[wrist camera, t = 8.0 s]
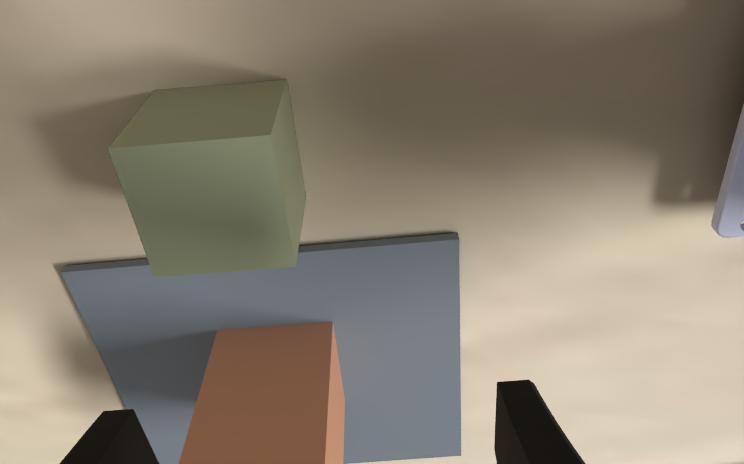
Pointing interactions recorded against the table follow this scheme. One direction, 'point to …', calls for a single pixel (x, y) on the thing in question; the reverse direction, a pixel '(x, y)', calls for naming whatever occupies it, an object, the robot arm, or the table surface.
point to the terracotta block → (270, 398)
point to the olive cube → (214, 178)
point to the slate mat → (287, 307)
